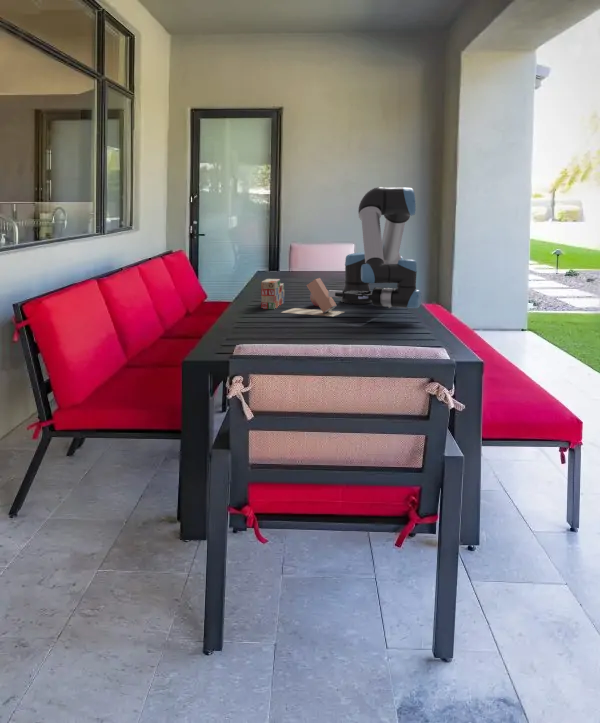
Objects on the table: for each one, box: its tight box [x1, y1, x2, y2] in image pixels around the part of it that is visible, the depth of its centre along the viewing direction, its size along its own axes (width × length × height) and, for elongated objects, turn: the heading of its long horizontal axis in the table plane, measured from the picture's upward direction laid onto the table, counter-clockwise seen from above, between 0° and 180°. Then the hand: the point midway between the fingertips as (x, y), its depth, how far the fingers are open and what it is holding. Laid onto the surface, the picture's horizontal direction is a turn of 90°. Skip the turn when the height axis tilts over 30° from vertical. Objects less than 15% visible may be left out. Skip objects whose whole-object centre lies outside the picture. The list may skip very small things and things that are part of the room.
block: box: [306, 277, 338, 313], centre depth 323 cm, size 5×5×14 cm
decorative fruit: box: [309, 293, 319, 307], centre depth 343 cm, size 9×8×10 cm
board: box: [280, 307, 345, 317], centre depth 325 cm, size 24×14×1 cm, turn 67°
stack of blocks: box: [260, 278, 285, 310], centre depth 349 cm, size 21×6×12 cm, turn 169°
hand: (329, 293), depth 321 cm, fingers closed
